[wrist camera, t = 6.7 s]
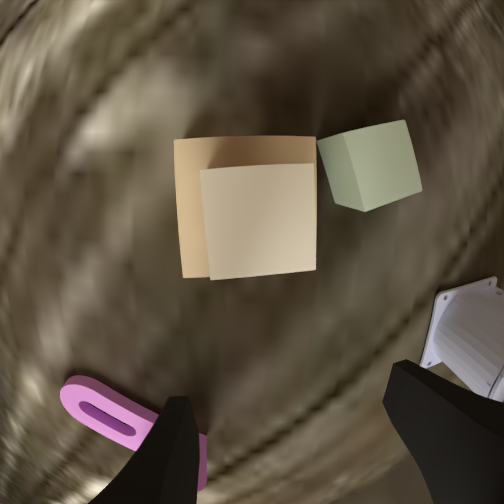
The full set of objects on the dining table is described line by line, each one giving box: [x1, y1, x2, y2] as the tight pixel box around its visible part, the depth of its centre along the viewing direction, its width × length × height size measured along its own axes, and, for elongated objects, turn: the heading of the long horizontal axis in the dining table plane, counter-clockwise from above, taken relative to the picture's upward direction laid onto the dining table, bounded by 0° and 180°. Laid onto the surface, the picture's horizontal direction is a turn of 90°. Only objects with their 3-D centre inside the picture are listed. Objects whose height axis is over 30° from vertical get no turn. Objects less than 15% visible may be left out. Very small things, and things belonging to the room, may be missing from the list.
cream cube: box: [200, 163, 316, 280], centre depth 12 cm, size 4×4×4 cm
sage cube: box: [316, 120, 422, 212], centre depth 15 cm, size 4×4×4 cm
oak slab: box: [174, 136, 317, 278], centre depth 15 cm, size 7×7×3 cm
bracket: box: [60, 375, 207, 492], centre depth 17 cm, size 13×6×7 cm, turn 52°
